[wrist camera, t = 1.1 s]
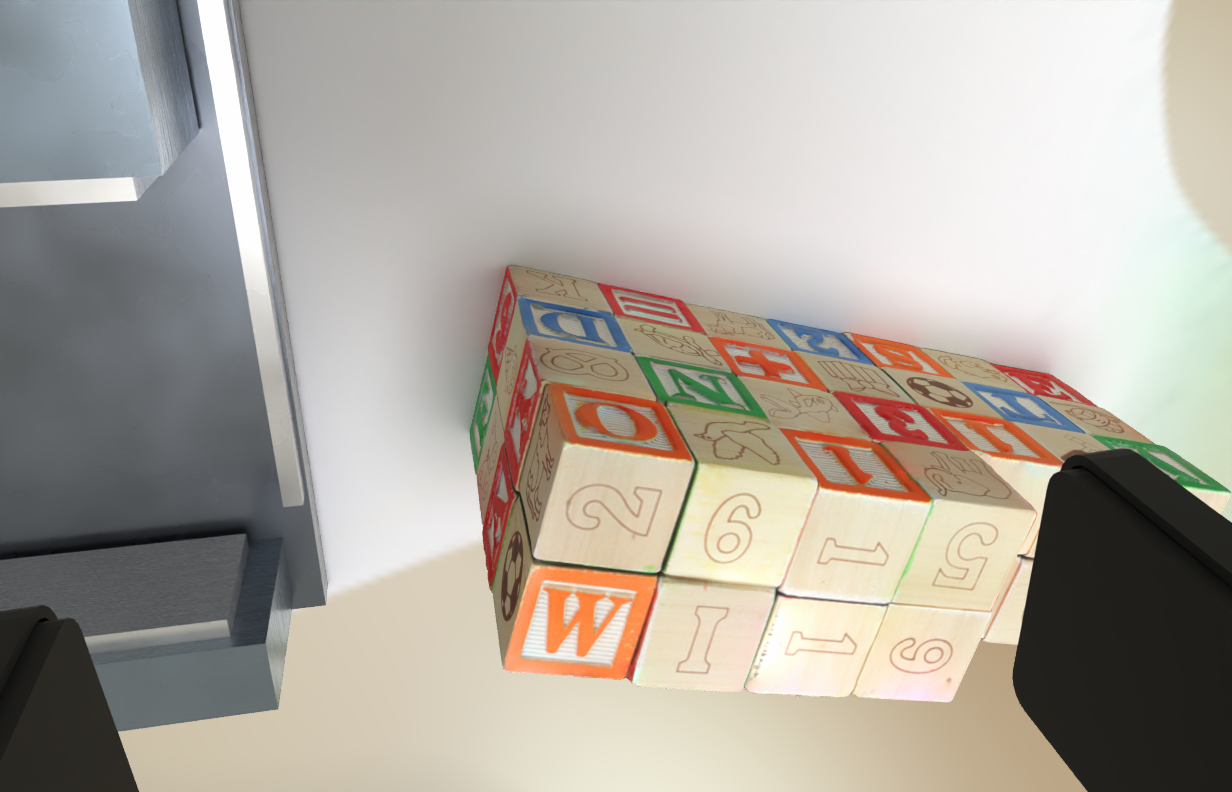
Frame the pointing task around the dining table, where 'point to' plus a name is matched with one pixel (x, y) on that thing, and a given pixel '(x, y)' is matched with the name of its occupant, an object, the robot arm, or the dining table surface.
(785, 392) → the stack of blocks
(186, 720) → the tray
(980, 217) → the dining table surface
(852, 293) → the dining table surface
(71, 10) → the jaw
